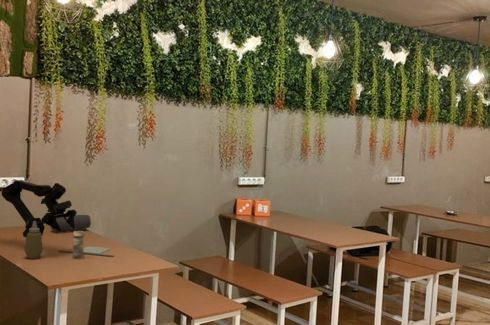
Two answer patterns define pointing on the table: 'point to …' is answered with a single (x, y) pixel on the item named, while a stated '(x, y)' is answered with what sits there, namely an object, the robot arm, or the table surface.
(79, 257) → the skittle
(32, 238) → the squeeze bottle
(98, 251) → the mat
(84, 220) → the bluetooth speaker
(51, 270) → the table surface
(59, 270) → the table surface
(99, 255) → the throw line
